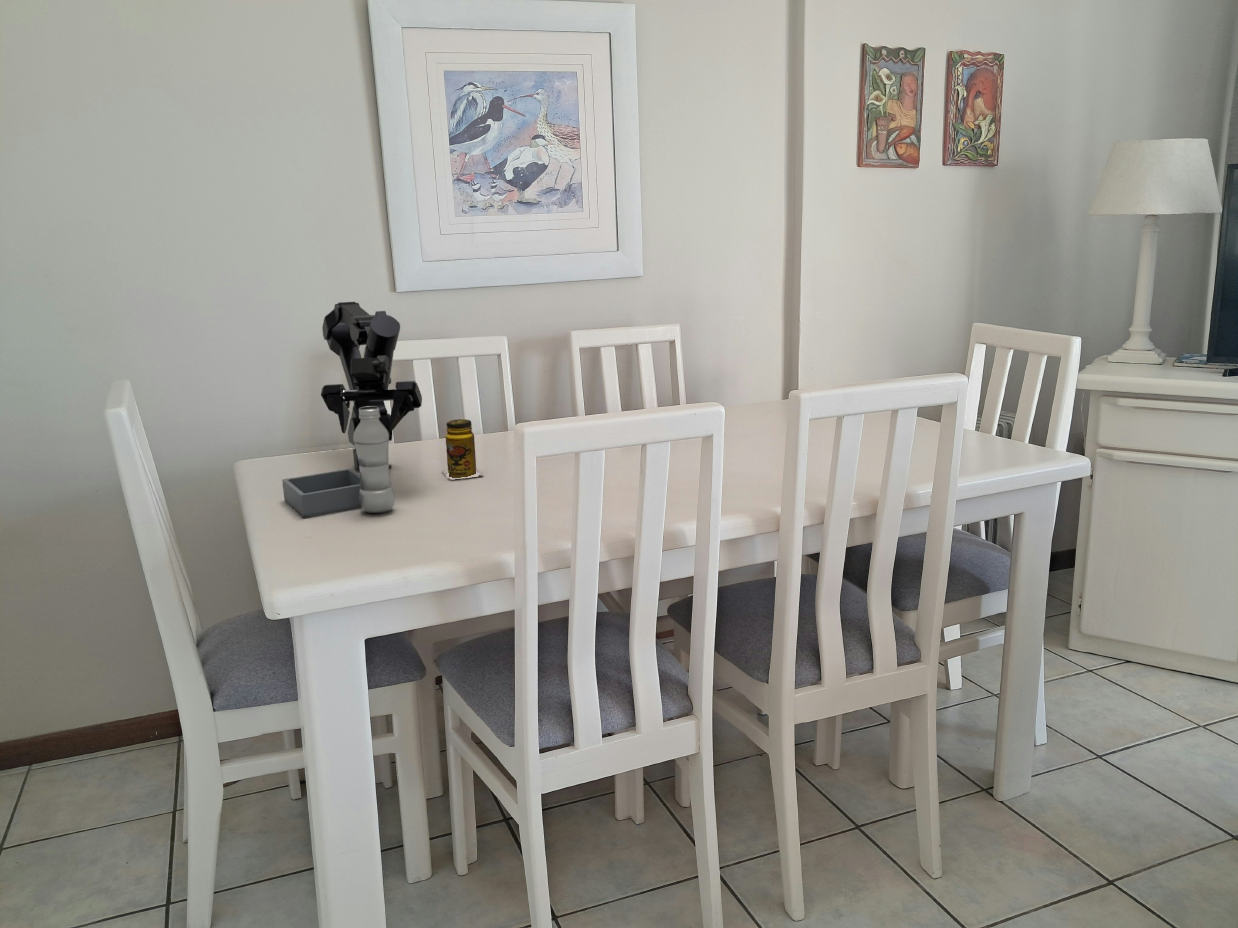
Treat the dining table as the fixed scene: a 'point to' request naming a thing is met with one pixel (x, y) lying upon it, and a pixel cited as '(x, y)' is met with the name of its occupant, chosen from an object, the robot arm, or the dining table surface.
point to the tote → (323, 493)
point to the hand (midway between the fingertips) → (366, 431)
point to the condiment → (460, 449)
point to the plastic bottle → (373, 462)
